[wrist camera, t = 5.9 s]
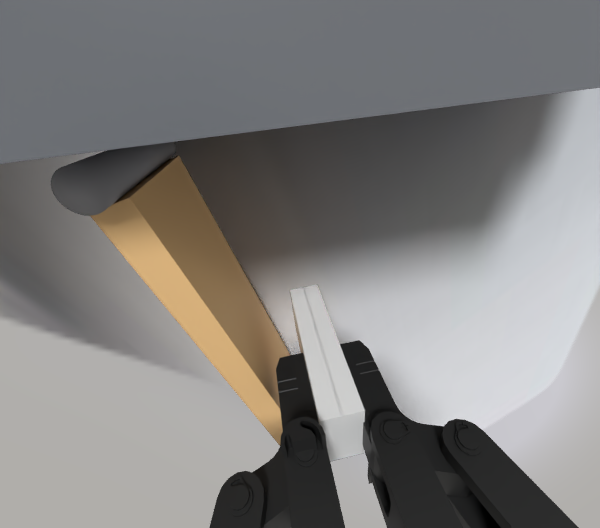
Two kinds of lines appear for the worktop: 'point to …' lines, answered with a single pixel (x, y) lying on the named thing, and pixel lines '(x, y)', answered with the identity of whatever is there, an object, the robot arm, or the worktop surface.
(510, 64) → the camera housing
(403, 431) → the robot arm
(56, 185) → the side door
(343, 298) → the worktop surface
